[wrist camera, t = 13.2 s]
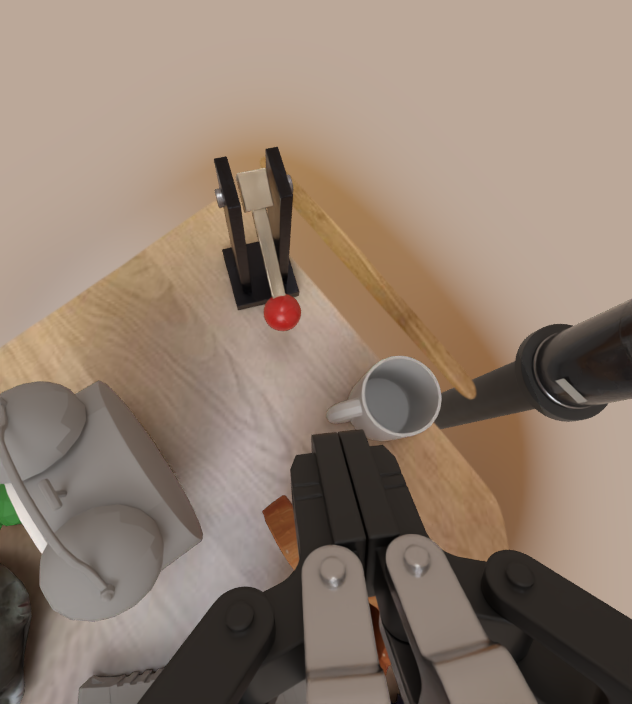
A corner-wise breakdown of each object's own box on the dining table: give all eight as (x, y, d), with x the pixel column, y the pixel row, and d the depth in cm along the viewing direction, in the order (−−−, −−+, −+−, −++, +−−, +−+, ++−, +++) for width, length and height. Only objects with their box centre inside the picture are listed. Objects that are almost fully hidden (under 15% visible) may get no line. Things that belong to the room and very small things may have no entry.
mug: (392, 595, 43) (451, 660, 29) (325, 652, 42) (352, 752, 27) (307, 469, 46) (321, 470, 31) (240, 518, 44) (222, 544, 29)
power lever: (300, 322, 40) (307, 329, 37) (266, 330, 40) (270, 338, 37) (267, 170, 36) (272, 165, 33) (229, 178, 36) (230, 173, 33)
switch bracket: (298, 295, 50) (310, 207, 33) (238, 310, 49) (218, 227, 32) (282, 241, 52) (285, 129, 35) (223, 254, 51) (196, 146, 34)
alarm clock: (60, 438, 44) (-138, 413, 23) (138, 389, 46) (21, 324, 25) (146, 584, 42) (13, 707, 20) (225, 526, 43) (178, 584, 22)
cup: (419, 433, 48) (451, 426, 39) (329, 454, 46) (342, 452, 38) (401, 369, 49) (428, 348, 41) (314, 387, 48) (322, 371, 39)
